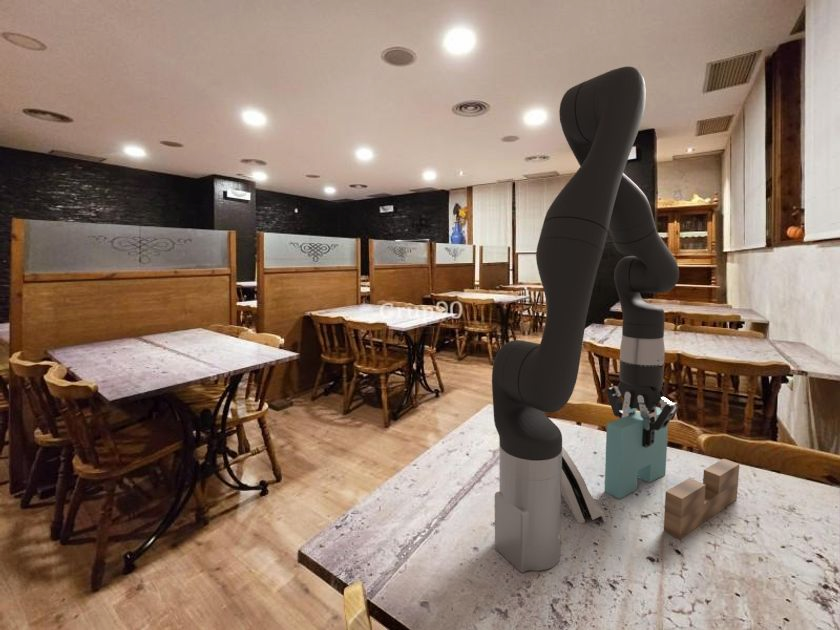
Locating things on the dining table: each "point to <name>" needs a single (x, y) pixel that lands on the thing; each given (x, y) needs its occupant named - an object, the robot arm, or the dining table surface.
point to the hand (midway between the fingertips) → (637, 442)
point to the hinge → (577, 492)
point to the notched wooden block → (700, 498)
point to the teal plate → (632, 455)
